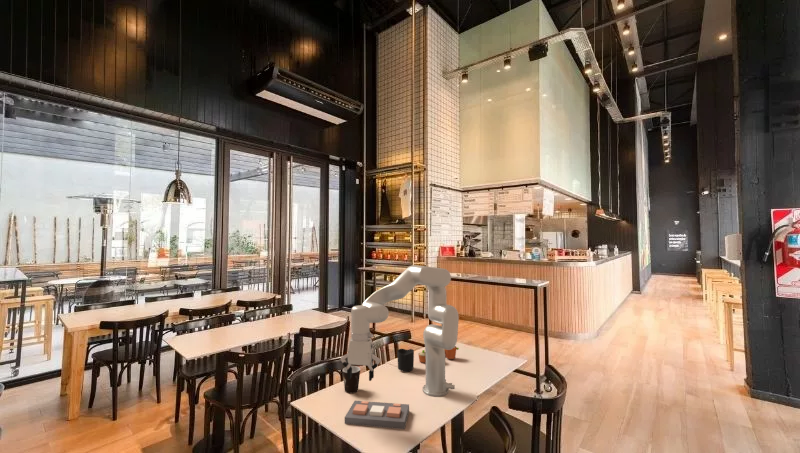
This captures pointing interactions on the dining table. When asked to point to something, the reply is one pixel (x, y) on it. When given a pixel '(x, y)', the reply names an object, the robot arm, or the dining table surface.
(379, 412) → the key middle
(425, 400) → the dining table surface
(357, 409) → the key
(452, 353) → the potted plants
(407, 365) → the pen holder
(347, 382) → the coffee mug
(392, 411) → the key
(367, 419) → the keypad housing
